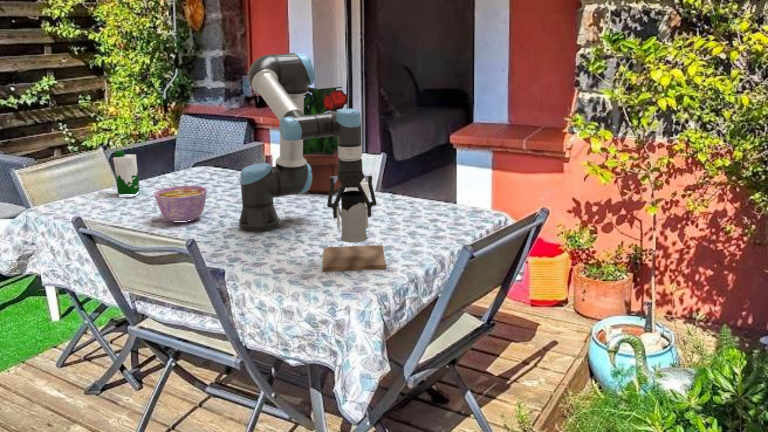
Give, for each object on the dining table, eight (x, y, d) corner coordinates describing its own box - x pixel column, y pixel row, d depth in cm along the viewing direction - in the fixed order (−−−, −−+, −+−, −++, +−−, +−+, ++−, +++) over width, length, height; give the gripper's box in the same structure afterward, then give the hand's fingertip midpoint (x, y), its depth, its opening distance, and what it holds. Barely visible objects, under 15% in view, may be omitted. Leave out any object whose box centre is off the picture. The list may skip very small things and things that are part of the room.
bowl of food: (146, 225, 301) (143, 196, 298) (176, 211, 319) (174, 184, 316) (190, 229, 294) (188, 199, 291) (219, 215, 312) (216, 187, 309)
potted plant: (353, 185, 355) (350, 86, 343) (339, 197, 335) (335, 92, 322) (307, 183, 360) (302, 85, 348) (291, 195, 340) (285, 92, 327)
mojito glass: (122, 193, 351) (117, 149, 345) (142, 193, 350) (137, 149, 345) (115, 198, 342) (110, 153, 337) (136, 198, 342) (131, 153, 336)
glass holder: (350, 244, 246) (348, 198, 241) (326, 233, 257) (325, 189, 253) (373, 239, 250) (371, 193, 246) (349, 228, 262) (347, 185, 257)
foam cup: (367, 217, 304) (366, 184, 301) (344, 216, 306) (343, 184, 303) (372, 210, 313) (371, 179, 310) (350, 209, 315) (349, 178, 312)
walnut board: (322, 271, 246) (322, 267, 245) (323, 251, 265) (323, 247, 264) (386, 269, 247) (385, 264, 246) (382, 249, 266) (382, 245, 265)
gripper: (316, 162, 242) (319, 231, 249) (384, 159, 243) (386, 229, 250) (316, 157, 250) (320, 225, 256) (383, 155, 251) (384, 222, 257)
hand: (352, 227), depth 253 cm, fingers closed on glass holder, 8 cm apart
